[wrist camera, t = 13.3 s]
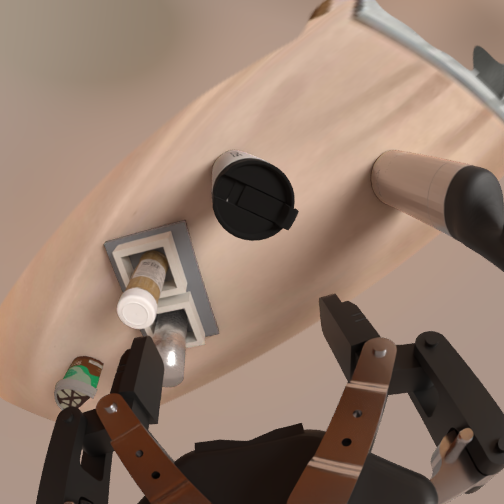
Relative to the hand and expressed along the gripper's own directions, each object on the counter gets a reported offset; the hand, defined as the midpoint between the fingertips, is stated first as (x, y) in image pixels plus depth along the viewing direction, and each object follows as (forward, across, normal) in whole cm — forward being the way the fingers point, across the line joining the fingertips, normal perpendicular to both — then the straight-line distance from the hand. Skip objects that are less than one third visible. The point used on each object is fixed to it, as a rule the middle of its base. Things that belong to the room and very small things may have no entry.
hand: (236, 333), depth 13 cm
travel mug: (+30, -3, -3) cm, 30 cm away
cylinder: (+29, +12, +17) cm, 36 cm away
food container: (+30, +36, +25) cm, 53 cm away
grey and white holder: (+30, +12, +12) cm, 34 cm away
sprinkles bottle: (+29, +12, +7) cm, 32 cm away
